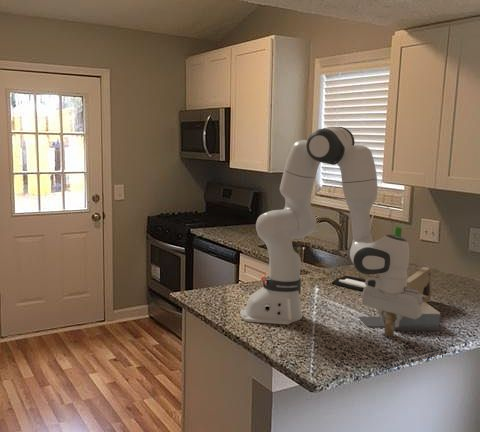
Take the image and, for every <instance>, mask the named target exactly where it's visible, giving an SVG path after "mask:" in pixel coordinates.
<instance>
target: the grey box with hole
mask: <svg viewBox="0 0 480 432" xmlns="http://www.w3.org/2000/svg"><path fill="white" fill-rule="evenodd" d="M384 315H385V317H386V311H385V312H384ZM378 317H380V316H378ZM440 318H441V312H440V311H438V310H437V309H435V308H434V307H433V306H432V305H430V304H429V303H428V302H424V301H422V315H421V317H419V318H417V319H411V318H408V317H404V316H403V318H402V319H401V320H400V321H399V327H394V331H395V332H396V331H397V332H398V331H400V332H401V331H402V332H403V331H404V332H405V331H406V332H408V331H410V332H411V331H412V332H414V331H415V332H416V331H420V332H423V331H424V332H426V331H427V332H439V331H440V330H439V329H440ZM395 320H397V317H396V314H395Z"/></svg>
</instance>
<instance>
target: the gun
mask: <svg viewBox="0 0 480 432" xmlns="http://www.w3.org/2000/svg"><path fill="white" fill-rule="evenodd" d="M431 276H433V271H432V269H431V268H430V267H427V266H423V267H421V268H420V269H418V270H417V271H415V272H414V273H413V274H412V275H410V276H408V277H407V288H410V289H413V290H418V291H419V292H420V293H421V294H422V301H424V302H426V303H430V302H431V299H432V293H433V289H432V278H431ZM418 294H419V293H418Z"/></svg>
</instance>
